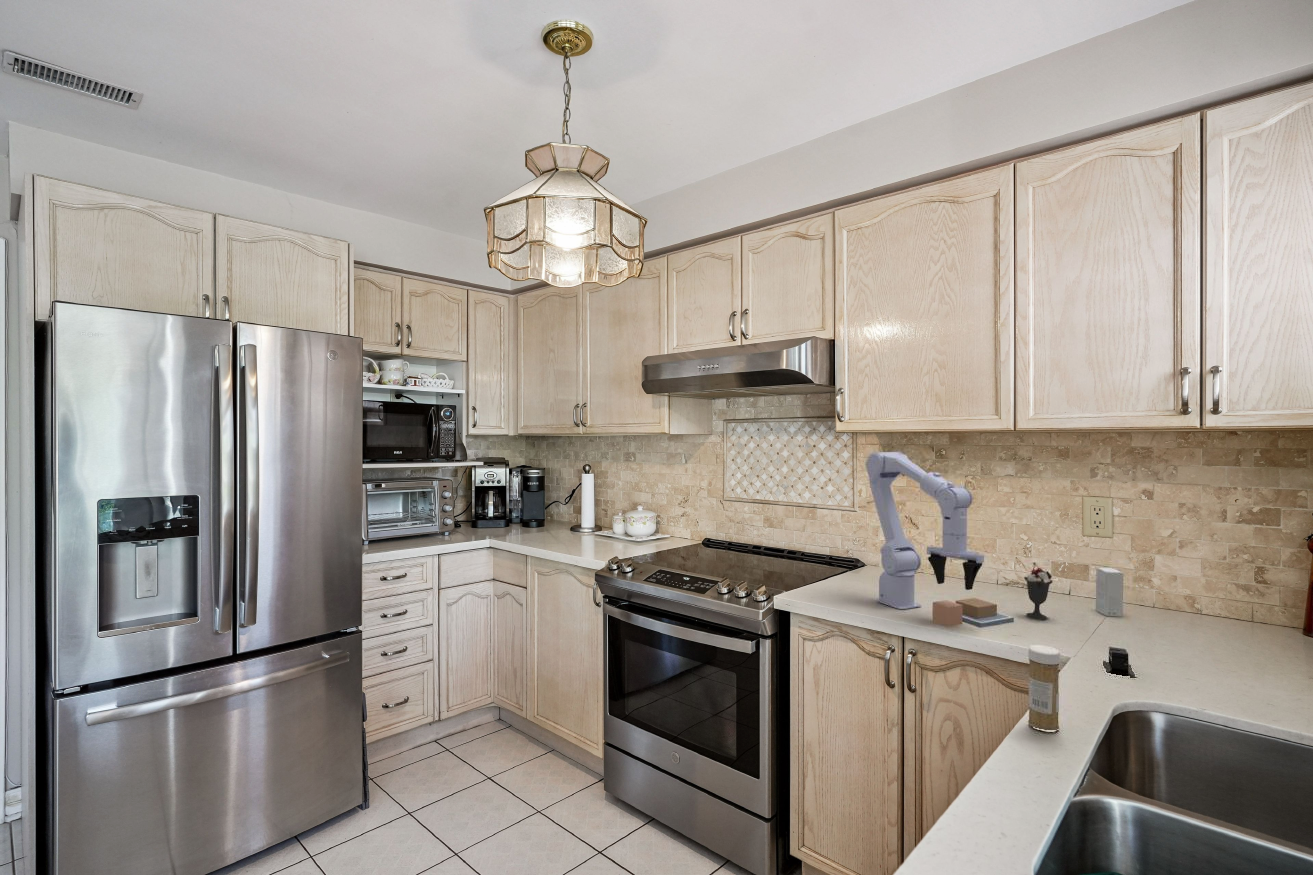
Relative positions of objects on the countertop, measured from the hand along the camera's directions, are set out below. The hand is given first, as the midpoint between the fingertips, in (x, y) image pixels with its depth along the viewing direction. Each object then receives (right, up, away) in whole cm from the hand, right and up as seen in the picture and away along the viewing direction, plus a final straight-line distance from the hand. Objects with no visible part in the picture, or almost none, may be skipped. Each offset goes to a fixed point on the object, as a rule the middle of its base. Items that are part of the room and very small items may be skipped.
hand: (954, 586), depth 164 cm
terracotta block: (-2, -10, +1) cm, 10 cm away
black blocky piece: (+20, -11, -31) cm, 38 cm away
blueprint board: (+8, -10, +5) cm, 13 cm away
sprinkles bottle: (-12, -11, -57) cm, 59 cm away
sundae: (+24, -10, +5) cm, 27 cm away
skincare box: (+46, -10, +9) cm, 48 cm away
